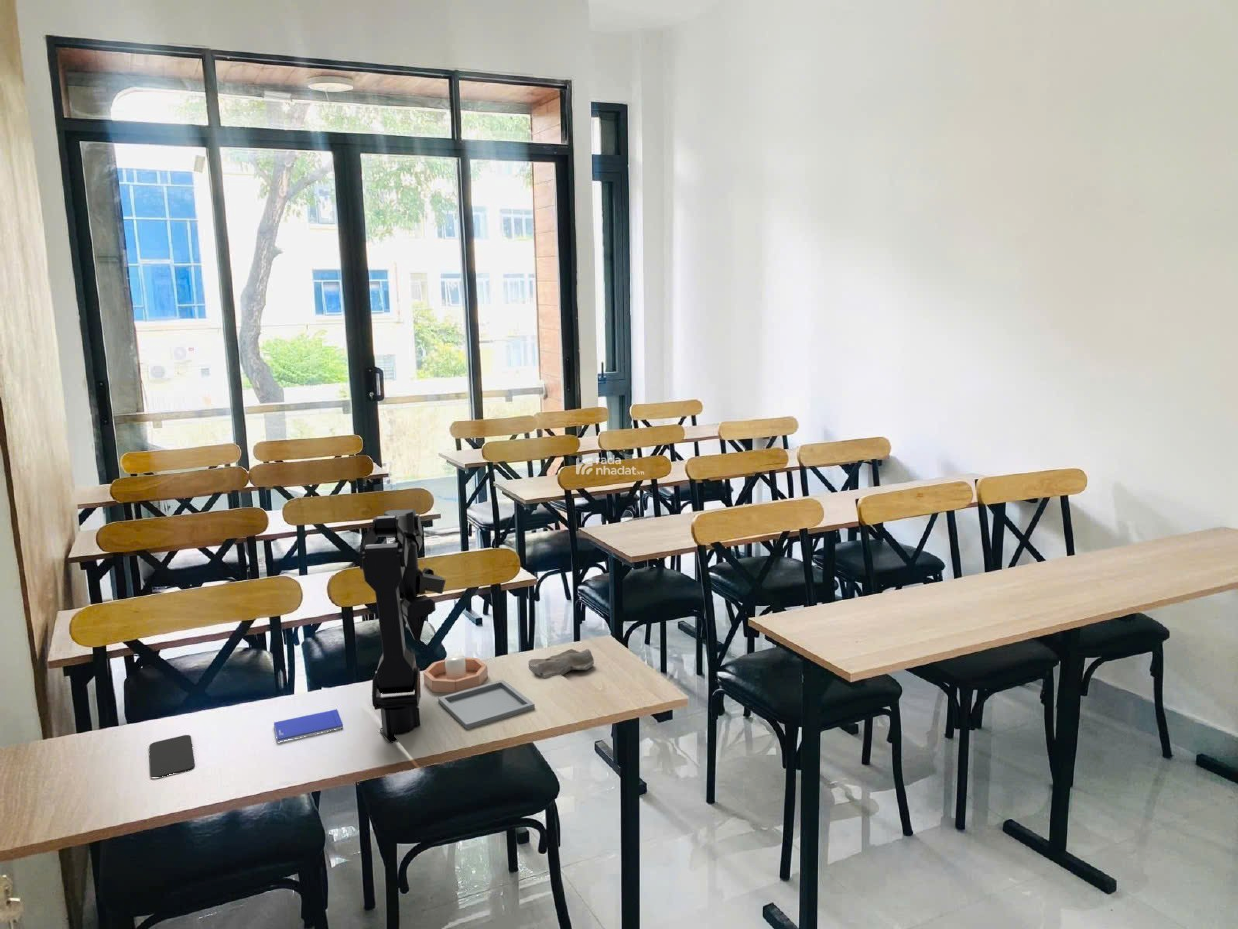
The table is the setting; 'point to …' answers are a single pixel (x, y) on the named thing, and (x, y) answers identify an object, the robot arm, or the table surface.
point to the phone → (171, 756)
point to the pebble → (455, 667)
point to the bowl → (474, 678)
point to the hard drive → (307, 725)
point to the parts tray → (485, 704)
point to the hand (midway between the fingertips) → (410, 634)
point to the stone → (562, 663)
